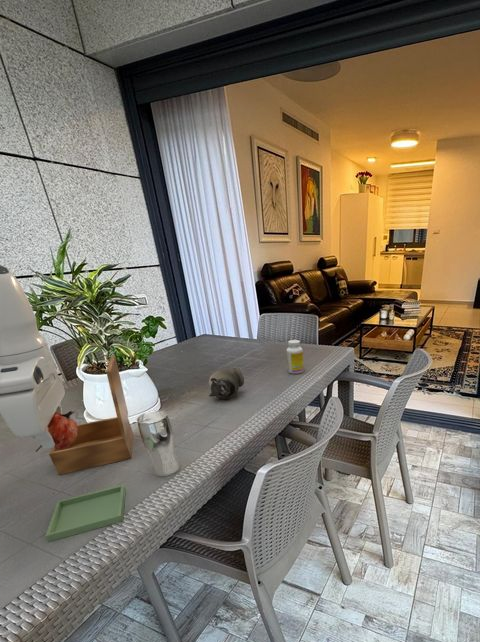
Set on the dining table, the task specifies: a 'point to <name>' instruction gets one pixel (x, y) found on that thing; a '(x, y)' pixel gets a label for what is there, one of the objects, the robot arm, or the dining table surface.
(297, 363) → the supplement bottle
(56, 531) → the tray
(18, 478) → the dining table surface
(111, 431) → the warming box
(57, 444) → the pomegranate
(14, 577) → the dining table surface
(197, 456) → the dining table surface
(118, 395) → the box lid
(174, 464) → the beer glass
